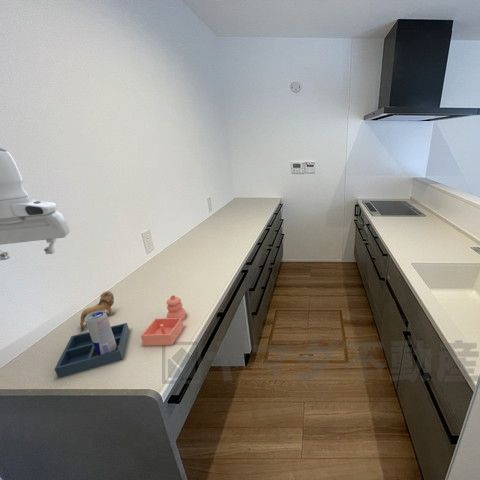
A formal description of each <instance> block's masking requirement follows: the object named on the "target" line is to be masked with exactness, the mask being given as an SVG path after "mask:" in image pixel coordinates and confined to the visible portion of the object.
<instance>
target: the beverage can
mask: <svg viewBox="0 0 480 480" xmlns="http://www.w3.org/2000/svg"><path fill="white" fill-rule="evenodd" d="M106 313H107V311H106V310H105V311H96V312H93V313H90V314H89V315H87V316H86V317H85V321H84V323H85V325H86V328H87V330H88V331H87V332H89V333H90V336H91V339H92V342H93V344H94V347H95V350H96V353H97V355H98V356H99V355H102V354H106V353H110V352H113V351H117V345H116V342H115V338H114V335H113V332H112V329H111V324H110V323H111V322H110V320H109V317H108V313H107V314H106Z"/></svg>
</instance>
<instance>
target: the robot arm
mask: <svg viewBox="0 0 480 480" xmlns="http://www.w3.org/2000/svg"><path fill="white" fill-rule="evenodd" d="M23 182H24V180H23V176H22V173H21V172H20V169H19V166H18V165H17V163H16V161H15V158H14V157H13V155H12V154H11V153H10V152H9V151H8V150H6V149H5V148H3V147H0V246H1V245H9V244H10V245H12V244H19V243H28V242H29V243H30V242H37V241H46V243H47V244H48V246H46V247H45V248H44V249H43V250H44V252H45V255H52V254H53V255H54V254H55V252H56V251H55V248H54V247H55V244H56V242H57V239H62V238H66V237H67V236H68V235H69V234H70V232H71V230H70V227H69V224H68V222H67V220H66V218H65V216H64V215H63V214H62V212H60V211H58V210H57V209H58V206H57V203H55V202H54V201H53V202H52V201H47V200H40V199H35V198H30V195H29V193H28V192H27V190H26V189H25V187H24V184H23ZM10 257H11V256H10V254H9V252H8V251H3V250H1V249H0V261H5V260H9V259H10Z"/></svg>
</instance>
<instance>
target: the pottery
mask: <svg viewBox="0 0 480 480" xmlns="http://www.w3.org/2000/svg"><path fill="white" fill-rule="evenodd" d="M166 309H167V313H166V318H165V317H163V318H161V317H160V318H154V319H153V320H152V321H151V322H150V324H149V325H148V326H147V328H146V329H145V330H144V331H143V333H141V335H140V338H141V341H142V345H143V346H173V344H174V343H175V341H176V340H177V339H178V337H179V335H180V334H181V332H182V331H183V329H184V328H185V327H184V320H185V319H186V315H187V311H186V309H185V308H184V307H183V302H182V298H181V297H180V296H176V295H174V294H173V295H171V296H170V297H169V298H168V299H167V300H166Z"/></svg>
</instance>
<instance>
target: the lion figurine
mask: <svg viewBox="0 0 480 480" xmlns="http://www.w3.org/2000/svg"><path fill="white" fill-rule="evenodd" d="M114 302H115V297H114V294H113V293H112V292H111V291H110V290H105V291H103V292H102V293H101V294H100V299H99V302H98V303H97V304H95V305H92V306H91V307H87V308H84V310H82V312H81V314H80V322H79V324H80V328H81V330H80V331H81V332H82V331H84V329H85V328H86V327H87V325H86V324H84V323H85V317H86V316H87V315H89V314H90V313H93V312H96V311H105V312H106V314H107V315H109V316H113V315H114V312H112V306H113V305H114Z"/></svg>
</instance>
